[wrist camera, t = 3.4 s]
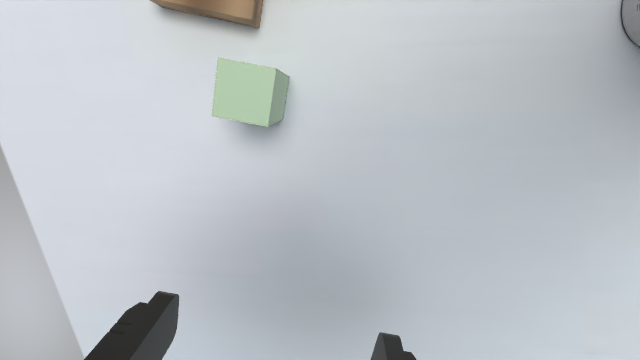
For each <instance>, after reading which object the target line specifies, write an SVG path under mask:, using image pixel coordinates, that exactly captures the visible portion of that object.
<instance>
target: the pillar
mask: <svg viewBox="0 0 640 360" xmlns="http://www.w3.org/2000/svg"><path fill="white" fill-rule="evenodd" d="M289 78H290V76H288V75H286V74H284V73H283V72H281V71H279V70H278V69H276V68H270V67H265V66H260V65H255V64H250V63H245V62H239V61H234V60H229V59H224V58H219V57H218V61H217V71H216V80H215V90H214V99H213V109H212V117H218V118H223V119H228V120H234V121H239V122H244V123H250V124H255V125H260V126H266V127H268V126H270V125H272V124H274V123H276V122H278V121H280V120H282V119H283V116H284V110H285V103H286V97H287V90H288V84H289Z"/></svg>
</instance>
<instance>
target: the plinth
mask: <svg viewBox="0 0 640 360" xmlns="http://www.w3.org/2000/svg"><path fill="white" fill-rule="evenodd" d="M150 1H152V2H154V3H156V4H158V5H159V6H161V7H164V8H169V9H174V10H178V11H183V12H188V13H193V14H197V15H202V16H207V17H211V18H216V19H221V20H225V21H230V22H235V23H239V24H244V25H249V26H254V27H258V28H259V26H260V19H261V12H262V6H263V0H150Z"/></svg>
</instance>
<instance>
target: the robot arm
mask: <svg viewBox="0 0 640 360" xmlns="http://www.w3.org/2000/svg"><path fill="white" fill-rule="evenodd" d="M622 18H623V25H624V27H625V30H626V33H627V34H628V36H629V37H630V39H631V40H632V41H633V42H634V43H636V44H637V45H638V46H639V47H640V0H624V1H623V7H622ZM178 307H179V295H178V294H173V293H167V292H162V291H158V292H157V293H156V294H155V295H154V296H153V298H152V299H151V300H150V301H149V303H148V304H147V303H142V302H140V303H138V304H136V305H135V306H133V307H132V308H130V309H128V310H127V311H126V312H125V313H124V314H123V315H122V317H121V318H120V319H119V320H118V322H117V323H115V325H114V326H113V327H112V328H111V329H110V331H109V332H108V333H107V334H106V335H105V336H104V337H103V338H102V340H101V341H100V342H99V343H98V344H97V345H96V346H95V348H94V349H93V350H92V351H91V352H90V353H89V355H88V356H87V357H86V358H85V359H84V360H162V358H163V356H164V355H165V353H166V351H167V350H168V348H169V346H170V345H171V343H172V341H173V339H174V336H175V333H176V329H177V321H178ZM371 360H416V358H415V357H414V355H413V354H412V353H411V352H406V351H403V347H402V343H401V339H400V337H399V336H397V335H392V334H386V333H379V335H378V338H377V341H376V344H375V348H374V351H373V354H372V357H371Z"/></svg>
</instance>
